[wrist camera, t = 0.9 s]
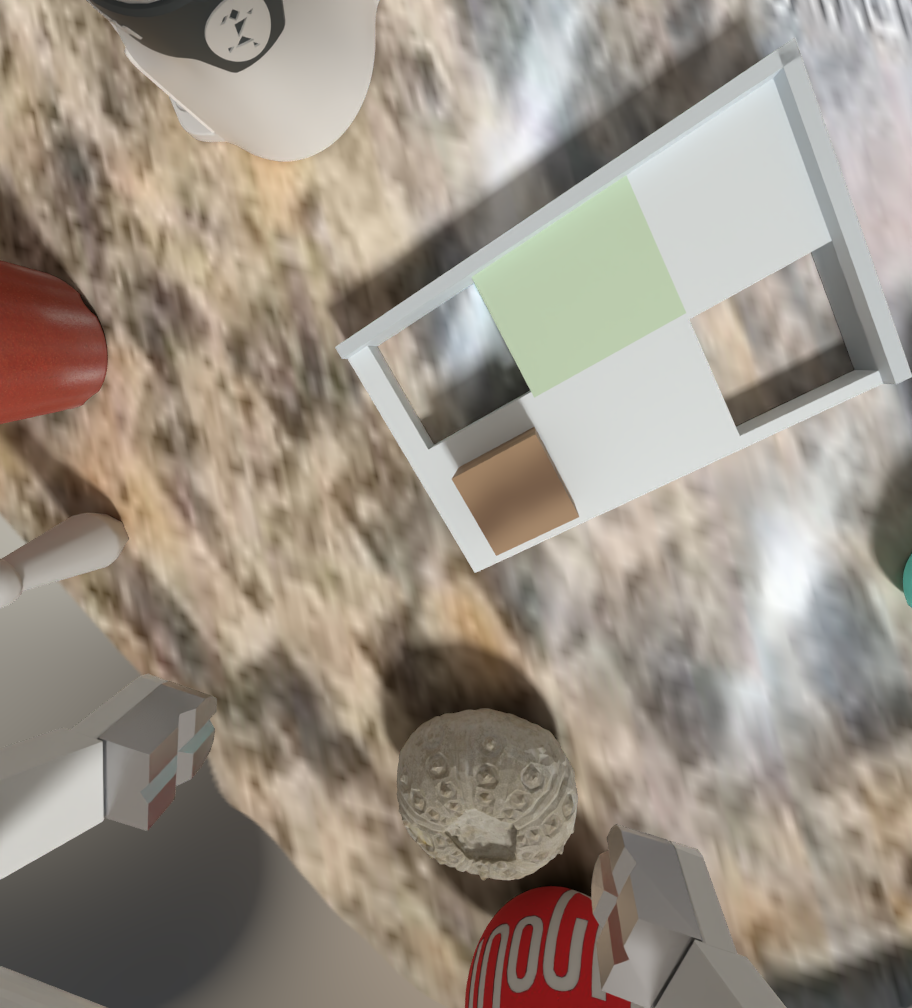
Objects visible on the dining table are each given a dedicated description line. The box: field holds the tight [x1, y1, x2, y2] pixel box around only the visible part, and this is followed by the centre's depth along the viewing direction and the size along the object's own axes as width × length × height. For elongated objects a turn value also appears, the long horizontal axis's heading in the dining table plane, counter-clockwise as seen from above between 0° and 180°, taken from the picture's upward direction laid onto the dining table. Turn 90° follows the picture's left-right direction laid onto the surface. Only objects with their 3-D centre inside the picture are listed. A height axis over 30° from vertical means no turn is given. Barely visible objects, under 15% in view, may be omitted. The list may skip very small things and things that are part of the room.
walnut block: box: [452, 427, 579, 556], centre depth 37 cm, size 7×7×4 cm
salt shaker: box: [0, 513, 129, 608], centre depth 43 cm, size 6×6×13 cm
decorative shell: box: [397, 708, 578, 880], centre depth 46 cm, size 18×18×10 cm
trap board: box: [335, 38, 912, 573], centre depth 36 cm, size 22×34×4 cm, turn 120°
